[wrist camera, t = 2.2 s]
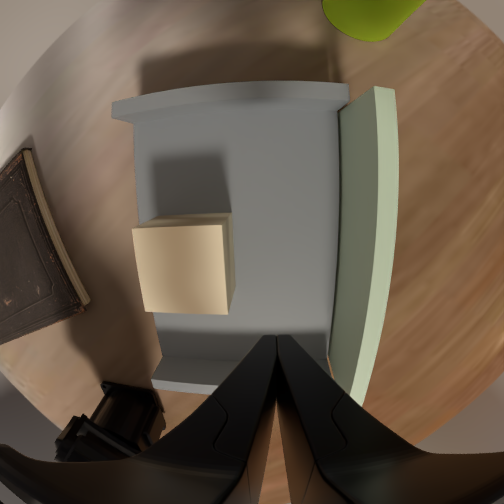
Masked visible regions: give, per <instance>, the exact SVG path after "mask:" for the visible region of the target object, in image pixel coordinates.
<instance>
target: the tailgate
mask: <svg viewBox="0 0 504 504" xmlns="http://www.w3.org/2000/svg"><path fill="white" fill-rule="evenodd" d="M337 118H338V142H339V223H338V247H337V264H336V279H335V291H334V302H333V312H332V322H331V331H330V339H329V347H328V356H329V360H330V363H331V367H332V371H333V374H334V378H335V381H336V382H337V383H338V384H339V385H340V386H341V387H342V388H343V389H344V390H345V392H346V393H348V394H349V395H350V396H351V397H352V398H353V399H354V400H355V401H356V402H357V403H358V404H359V405H360V406H361V407H362V404H363V401H364V398H365V394H366V391H367V388H368V384H369V381H370V377H371V373H372V370H373V366H374V362H375V358H376V354H377V349H378V345H379V341H380V336H381V332H382V327H383V322H384V317H385V311H386V306H387V300H388V294H389V287H390V281H391V274H392V266H393V257H394V248H395V238H396V225H397V210H398V182H399V155H398V128H397V113H396V101H395V91H394V89H389V88H383V87H377V86H373V87H372V88H371V89H369V90H368V91H367V92H365V93H364V94H362V95H361V96H360V97H358V98H357V99H356V100H354V101H353V102H352V103H350V104H349V105H348V106H346V107H345V108H344V109H343V110H341V111H340V112H339V113H337Z"/></svg>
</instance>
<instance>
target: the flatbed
mask: <svg viewBox="0 0 504 504" xmlns="http://www.w3.org/2000/svg"><path fill="white" fill-rule="evenodd" d="M349 101H350V95H349V84H343V83H331V82H315V81H248V82H232V83H220V84H210V85H201V86H193V87H186V88H179V89H173V90H167V91H161V92H156V93H151V94H146V95H141V96H136V97H132V98H128V99H123V100H119V101H115V102H112V118H113V119H117V120H121V121H125V122H129V123H133V124H134V160H135V179H136V193H137V205H138V215H139V225H140V224H142V223H144V222H146V221H149V220H151V219H153V218H155V217H157V216H165V215H184V214H207V213H232V224H233V244H234V263H235V281H236V287H235V291H234V294H233V298H232V302H231V305H230V309H229V313H228V315H219V314H184V313H162V312H153V315H154V320H155V325H156V329H157V334H158V338H159V343H160V347H161V351H162V355H163V357H162V359H161V361H160V363H159V365H158V366H157V368H156V370H155V372H154V374H153V376H152V378H151V381H152V384H153V387H154V388H155V389H162V390H170V391H178V392H188V393H199V394H212V393H213V391H214V390H215V389H216V388H217V387H218V386H219V385H220V384H221V383H222V381H223V380H224V379H225V378H226V377H227V376H228V375H229V374H230V372H231V371H232V370H233V369H234V368H235V367H236V366H237V365H238V363H239V362H240V361H241V360H242V359H243V358H244V356H245V355H246V354H247V353H248V352H249V351H250V349H251V348H252V347H253V346H254V345H255V344H256V342H257V341H258V340H259V339H260V338H261V336H262V335H276V337H277V335H279V334H290V335H291V336H292V337H293V338H294V339H295V340H296V341H297V342H298V343H299V344H300V345H301V346H302V347H303V348H304V349H305V351H306V352H307V353H308V354H309V355H310V356H311V357H312V358H313V359H314V360H315V361H316V362H317V363H318V364H319V365H320V366H321V367H322V368H323V369H324V370H325V371H326V372H327V373H328V374H329V375H330V376H331V373H330V369H329V365H328V362H327V354H328V347H329V339H330V331H331V322H332V312H333V302H334V291H335V279H336V264H337V247H338V223H339V142H338V118H337V111H338V110H339V109H340V108H342V107H343V106H344V105H345V104H347V103H348V102H349Z"/></svg>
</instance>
